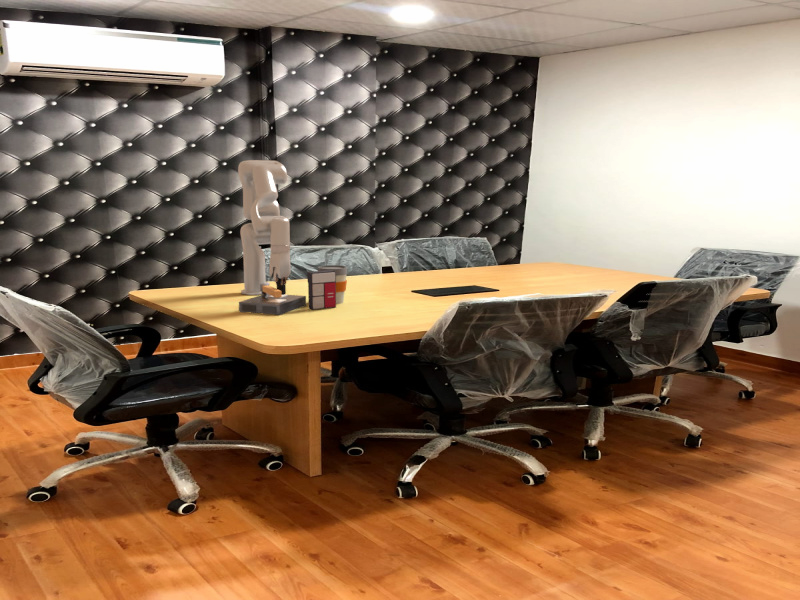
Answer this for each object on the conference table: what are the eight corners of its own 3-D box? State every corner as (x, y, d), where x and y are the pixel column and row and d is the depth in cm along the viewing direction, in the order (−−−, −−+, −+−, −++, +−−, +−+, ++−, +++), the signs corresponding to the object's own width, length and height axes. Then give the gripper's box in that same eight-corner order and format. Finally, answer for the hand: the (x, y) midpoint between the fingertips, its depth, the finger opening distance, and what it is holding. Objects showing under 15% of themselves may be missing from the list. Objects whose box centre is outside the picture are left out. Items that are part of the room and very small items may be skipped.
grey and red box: (312, 310, 293) (311, 273, 290) (307, 308, 296) (307, 271, 294) (337, 307, 298) (336, 271, 296) (332, 306, 302) (331, 270, 299)
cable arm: (258, 290, 305) (258, 283, 304) (267, 289, 307) (267, 283, 306) (274, 297, 288) (274, 290, 287) (283, 296, 289) (282, 289, 289)
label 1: (276, 294, 305) (276, 294, 305) (287, 295, 303) (287, 294, 303) (269, 297, 299) (269, 296, 299) (280, 297, 298) (280, 297, 298)
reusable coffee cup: (318, 300, 317) (317, 265, 314) (347, 299, 318) (346, 265, 315) (317, 305, 304) (317, 269, 302) (348, 304, 305) (347, 268, 303)
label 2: (275, 299, 294) (275, 298, 294) (286, 300, 292) (286, 299, 292) (267, 301, 288) (267, 301, 288) (278, 302, 287) (278, 302, 287)
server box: (267, 302, 309) (266, 289, 308) (306, 305, 303) (305, 292, 302) (238, 312, 289) (237, 298, 288) (279, 315, 283) (278, 301, 282)
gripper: (281, 246, 301) (281, 290, 304) (262, 250, 287) (263, 296, 290) (297, 247, 298) (298, 291, 302) (279, 251, 284) (280, 298, 288)
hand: (281, 294), depth 296 cm, fingers closed
